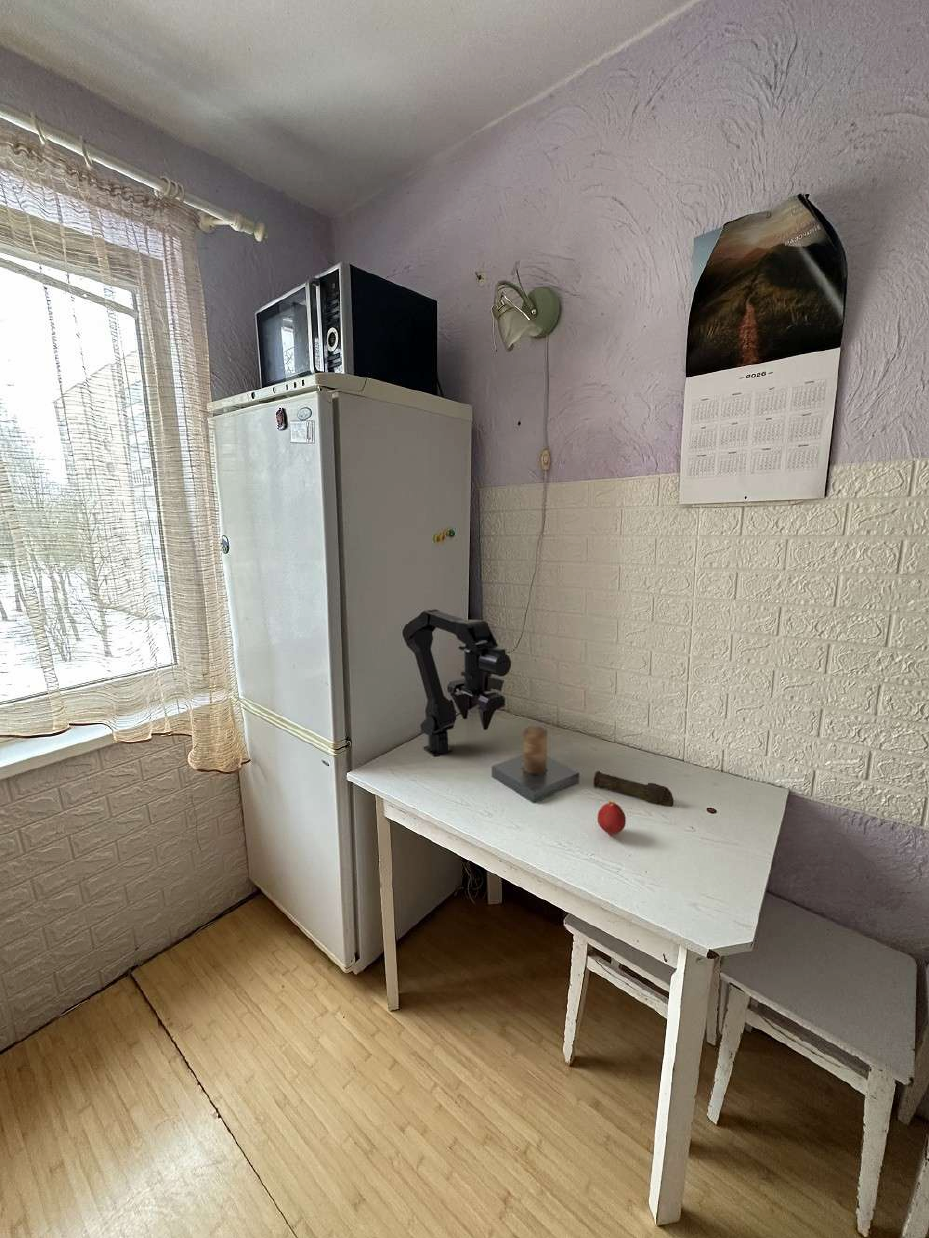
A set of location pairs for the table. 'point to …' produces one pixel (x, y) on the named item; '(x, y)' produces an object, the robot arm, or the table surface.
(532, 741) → the walnut pin
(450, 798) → the table surface
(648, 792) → the hand tool
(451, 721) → the robot arm
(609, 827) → the red pomegranate
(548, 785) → the socket block
